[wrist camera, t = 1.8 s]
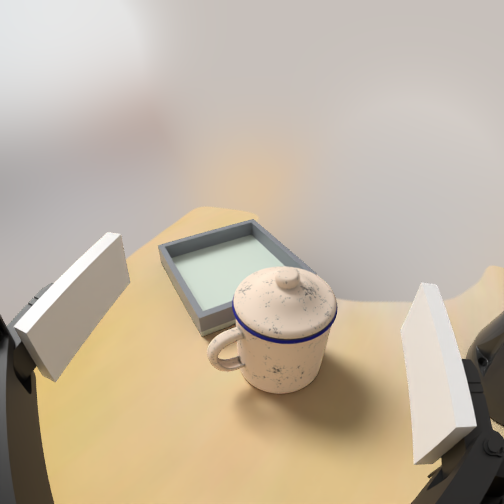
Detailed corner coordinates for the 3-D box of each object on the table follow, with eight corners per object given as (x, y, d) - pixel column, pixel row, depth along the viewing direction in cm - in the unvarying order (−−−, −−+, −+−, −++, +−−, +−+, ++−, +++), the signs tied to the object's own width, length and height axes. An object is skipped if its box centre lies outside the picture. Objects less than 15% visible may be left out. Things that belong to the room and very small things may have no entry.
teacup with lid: (291, 318, 37) (300, 233, 31) (339, 372, 31) (366, 286, 24) (196, 356, 33) (180, 269, 26) (234, 424, 26) (227, 347, 19)
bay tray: (253, 235, 53) (253, 219, 51) (314, 291, 41) (316, 273, 40) (161, 262, 47) (158, 245, 45) (201, 336, 35) (198, 318, 33)
